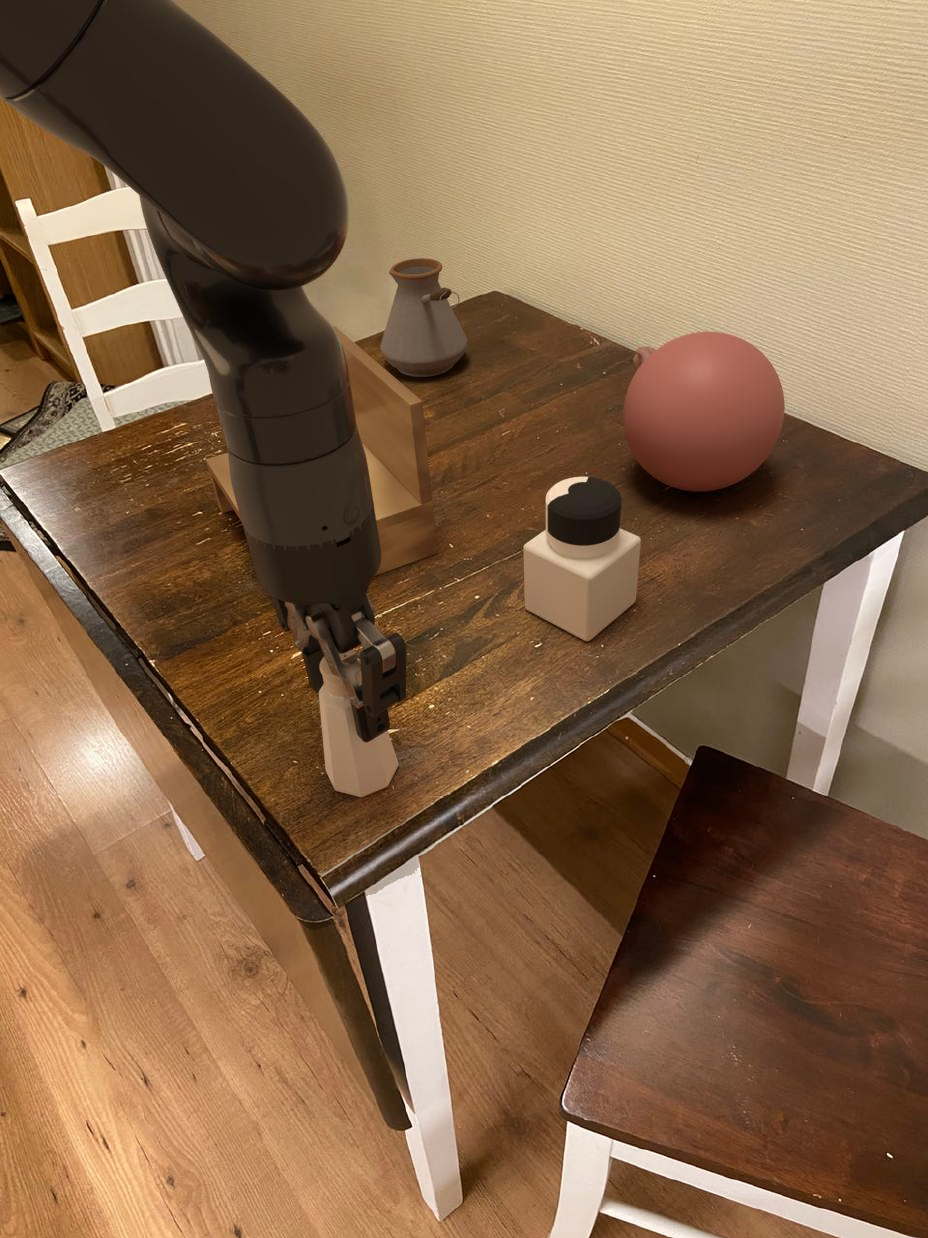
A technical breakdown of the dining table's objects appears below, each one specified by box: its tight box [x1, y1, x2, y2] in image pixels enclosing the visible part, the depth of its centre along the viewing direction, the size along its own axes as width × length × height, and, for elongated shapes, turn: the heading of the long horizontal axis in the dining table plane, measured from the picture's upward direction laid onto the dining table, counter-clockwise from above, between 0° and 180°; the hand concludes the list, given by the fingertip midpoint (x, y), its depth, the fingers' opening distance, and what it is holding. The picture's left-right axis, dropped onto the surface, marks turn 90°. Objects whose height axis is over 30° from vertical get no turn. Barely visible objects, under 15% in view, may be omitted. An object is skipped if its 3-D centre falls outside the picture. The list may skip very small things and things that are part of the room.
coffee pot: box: [379, 257, 468, 378], centre depth 109 cm, size 21×12×15 cm, turn 17°
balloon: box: [622, 331, 786, 493], centre depth 89 cm, size 15×20×15 cm
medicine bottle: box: [523, 476, 642, 642], centre depth 74 cm, size 7×7×12 cm
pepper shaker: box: [318, 649, 400, 798], centre depth 62 cm, size 5×5×11 cm
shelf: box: [205, 325, 439, 577], centre depth 84 cm, size 16×20×16 cm
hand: (349, 708), depth 61 cm, fingers open, 5 cm apart
